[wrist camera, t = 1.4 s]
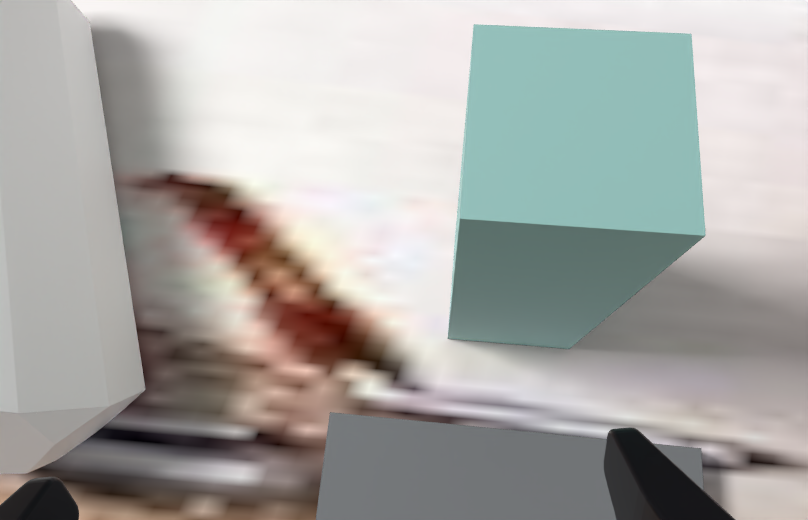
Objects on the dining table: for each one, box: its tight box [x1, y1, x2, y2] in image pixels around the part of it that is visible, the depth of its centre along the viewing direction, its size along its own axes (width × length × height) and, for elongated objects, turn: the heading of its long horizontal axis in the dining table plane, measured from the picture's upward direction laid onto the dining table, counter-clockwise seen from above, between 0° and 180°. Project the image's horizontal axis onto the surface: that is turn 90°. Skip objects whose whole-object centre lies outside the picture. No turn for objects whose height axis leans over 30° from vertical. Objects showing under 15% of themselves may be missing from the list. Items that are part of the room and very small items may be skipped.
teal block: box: [448, 24, 705, 349], centre depth 19 cm, size 5×5×13 cm
